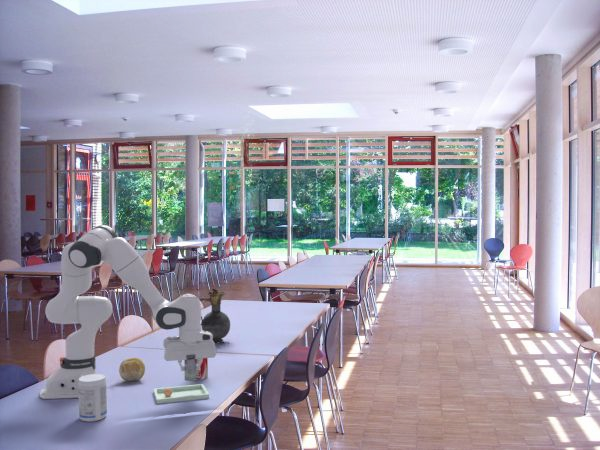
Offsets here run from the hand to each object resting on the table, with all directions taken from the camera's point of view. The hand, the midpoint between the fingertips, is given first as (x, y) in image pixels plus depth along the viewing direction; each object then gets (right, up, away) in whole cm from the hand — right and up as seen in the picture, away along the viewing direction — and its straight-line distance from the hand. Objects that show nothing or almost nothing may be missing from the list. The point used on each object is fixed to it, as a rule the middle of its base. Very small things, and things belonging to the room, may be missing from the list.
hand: (190, 370), depth 237 cm
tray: (-4, -11, 0) cm, 12 cm away
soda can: (0, -10, +24) cm, 26 cm away
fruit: (-29, -10, +22) cm, 38 cm away
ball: (-8, -10, -2) cm, 13 cm away
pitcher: (-5, -8, +96) cm, 96 cm away
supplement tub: (-31, -12, -22) cm, 40 cm away
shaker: (0, -4, 0) cm, 4 cm away
